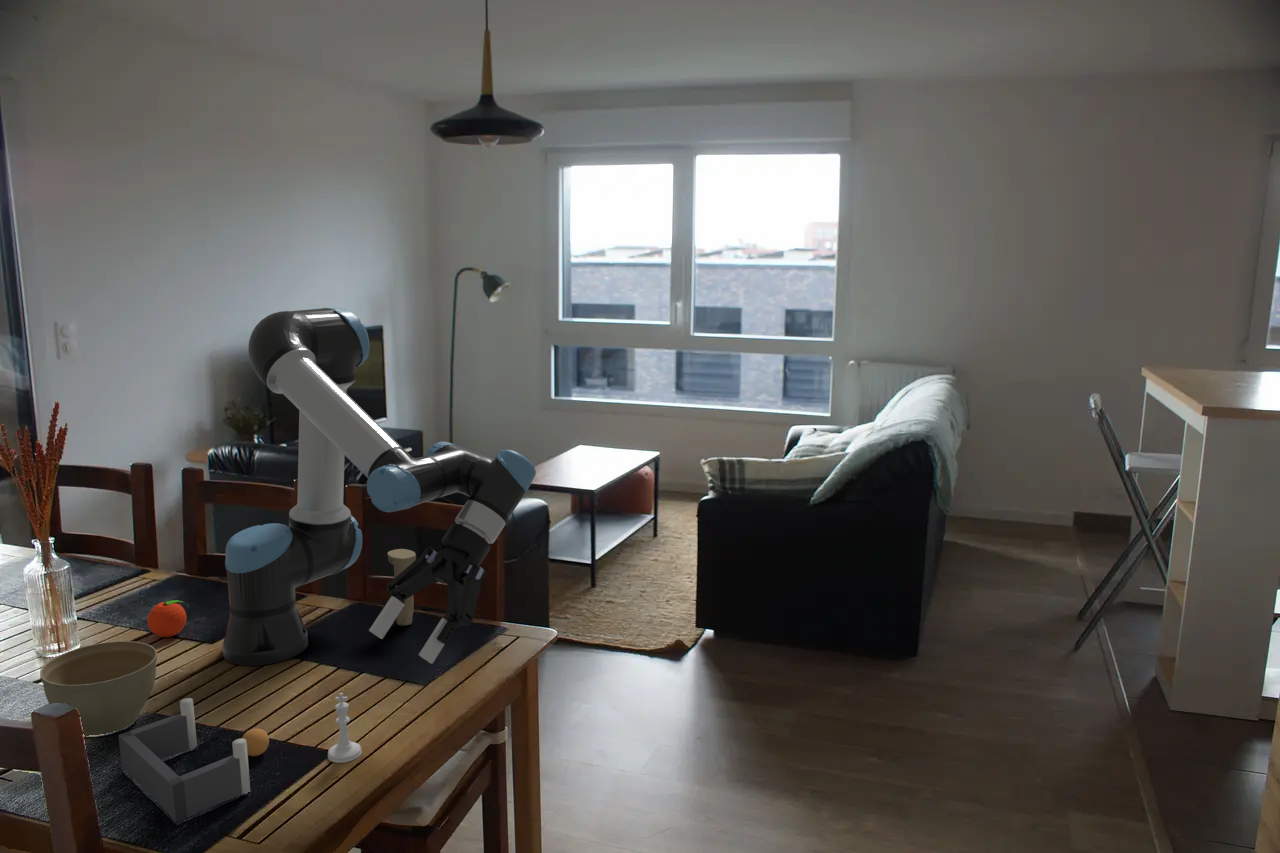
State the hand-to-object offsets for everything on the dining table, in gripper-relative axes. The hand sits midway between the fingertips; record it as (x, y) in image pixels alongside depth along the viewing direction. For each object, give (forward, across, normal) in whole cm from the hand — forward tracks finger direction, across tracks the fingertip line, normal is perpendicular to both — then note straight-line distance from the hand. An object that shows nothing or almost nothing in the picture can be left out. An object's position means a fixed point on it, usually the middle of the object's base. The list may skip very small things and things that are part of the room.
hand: (399, 647), depth 146 cm
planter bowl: (+32, +37, +12) cm, 50 cm away
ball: (+22, +10, +5) cm, 25 cm away
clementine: (+17, +65, -3) cm, 67 cm away
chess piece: (+17, 0, -3) cm, 18 cm away
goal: (+31, +10, +11) cm, 34 cm away
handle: (-7, +36, -28) cm, 46 cm away
